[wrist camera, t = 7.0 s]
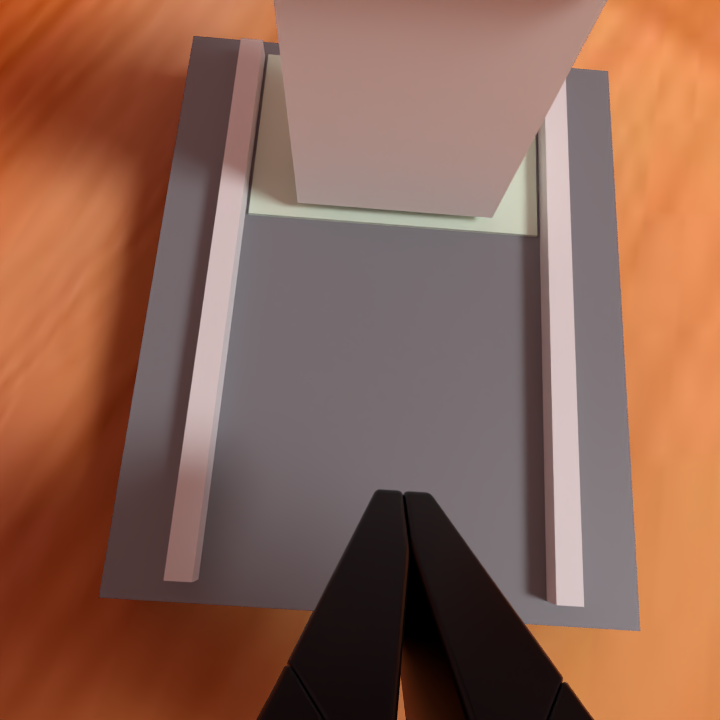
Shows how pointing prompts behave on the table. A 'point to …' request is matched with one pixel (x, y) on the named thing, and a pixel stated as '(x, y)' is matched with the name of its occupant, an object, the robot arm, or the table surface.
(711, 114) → the table surface
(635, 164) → the table surface
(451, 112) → the fader knob
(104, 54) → the table surface
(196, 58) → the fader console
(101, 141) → the table surface
